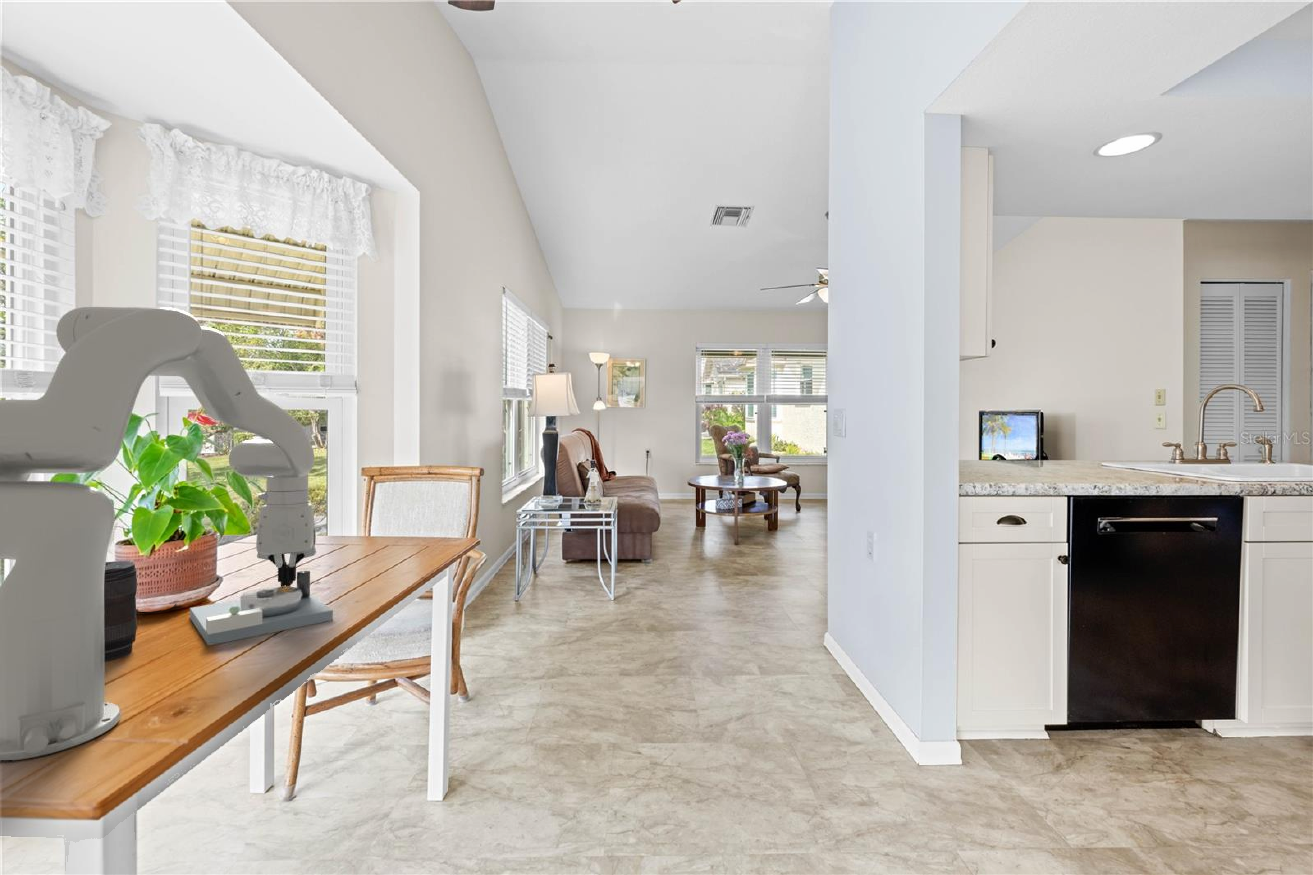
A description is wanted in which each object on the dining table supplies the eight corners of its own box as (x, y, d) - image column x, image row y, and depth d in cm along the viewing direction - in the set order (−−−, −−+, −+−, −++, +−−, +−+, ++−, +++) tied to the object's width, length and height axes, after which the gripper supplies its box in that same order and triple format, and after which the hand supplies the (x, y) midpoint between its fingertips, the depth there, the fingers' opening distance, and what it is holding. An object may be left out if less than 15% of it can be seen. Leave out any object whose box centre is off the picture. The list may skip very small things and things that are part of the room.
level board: (333, 620, 118) (333, 590, 118) (208, 645, 103) (208, 611, 103) (303, 598, 132) (303, 571, 132) (189, 618, 118) (189, 588, 117)
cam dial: (273, 618, 111) (273, 591, 111) (227, 615, 113) (227, 587, 113) (328, 596, 126) (328, 572, 126) (286, 593, 127) (286, 569, 127)
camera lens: (61, 659, 97) (61, 568, 96) (124, 643, 104) (123, 558, 104) (83, 669, 93) (82, 574, 93) (146, 652, 100) (146, 564, 100)
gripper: (239, 501, 119) (239, 592, 119) (323, 499, 124) (322, 587, 124) (252, 497, 126) (251, 582, 126) (330, 495, 131) (330, 578, 131)
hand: (287, 584), depth 125 cm, fingers closed
